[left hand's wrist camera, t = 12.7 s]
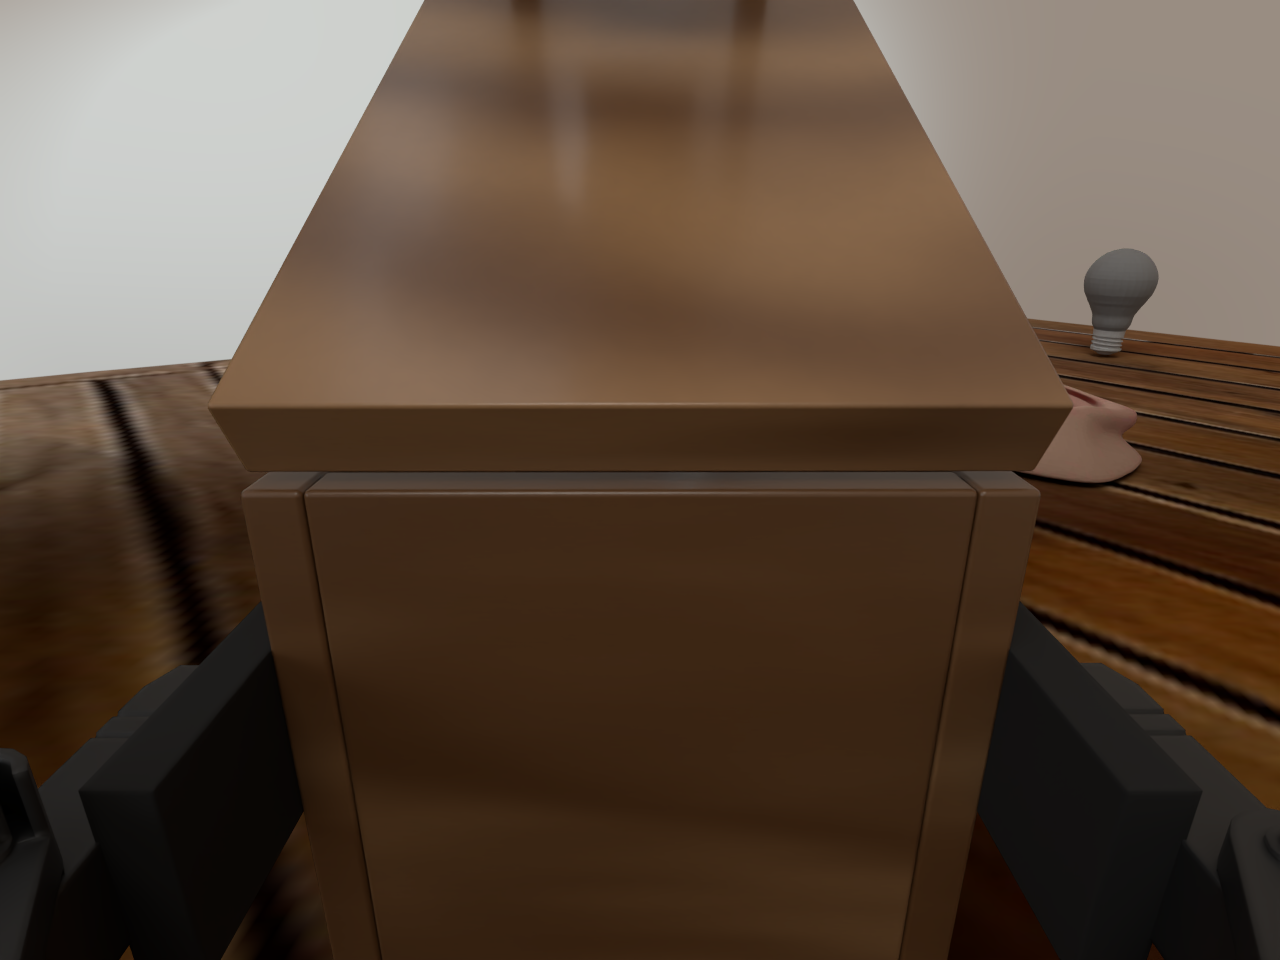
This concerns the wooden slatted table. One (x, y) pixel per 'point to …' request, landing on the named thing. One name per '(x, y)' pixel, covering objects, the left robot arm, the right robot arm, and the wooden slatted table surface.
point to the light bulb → (1117, 294)
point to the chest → (640, 704)
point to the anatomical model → (1090, 442)
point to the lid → (639, 262)
